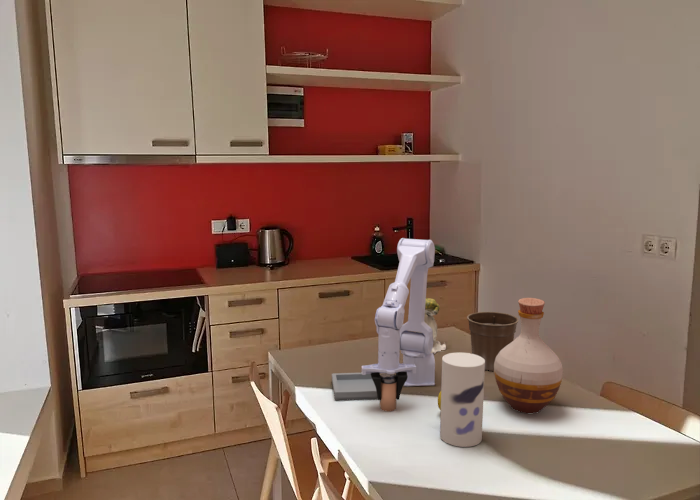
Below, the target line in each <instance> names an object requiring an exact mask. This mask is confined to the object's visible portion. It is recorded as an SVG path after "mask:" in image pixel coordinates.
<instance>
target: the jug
mask: <svg viewBox="0 0 700 500" xmlns="http://www.w3.org/2000/svg"><path fill="white" fill-rule="evenodd" d="M517 302H518V307H519V309H518V310H517V312H518V313H517V314H518V317H519V318H520V334H519V335H518V336H516V338H514V340H513V341H512V342H511V343H510V344H508V345H507V346H506V347H504V348H503V349H502V350H501V351H500V352H499V353H498V355H497V356H496V359H495V362H494V371H493V373H494V378H495V382H496V385H497V387H498V391H499V393H500V395H502V397H503V399H504V400H505V401H506V402H507V403H508V405H509V407H510V408H511V409H512V410H514V411H516V412H518V413H522V414H528V413H533V414H537V412H538V413H540V412H541V411H542V410H544V409H545V407H546V406H548V405H549V404H550V403H551V402H552V401H554V399H555V397H556V395H557V394H558V392H559V390H560V387H561V385H562V382H563V381H562V380H563V376H564V370H563V369H564V368H563V364H562V361H561V360H560V358H559V356H558V355H557V354H556V352H554V351H553V350H552V349H551V347H549V346H548V344H546V343H545V342H544V340H543V339H542V338H541V337H540V325H541V321H542V318H543V317H544V315H545V313H544V311H543V309H544V307H545V304H546V303H545V301H544V300H543V299H541V298H535V297H522V298H520V299H519V300H518V301H517Z"/></svg>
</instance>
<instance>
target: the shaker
mask: <svg viewBox="0 0 700 500" xmlns="http://www.w3.org/2000/svg"><path fill="white" fill-rule="evenodd" d="M380 377H381V400H379V409H380V410H381V411H383V412H394V411H396V410H397V399H396V391H397V376H396V373H394V374H387V373H381V374H380Z"/></svg>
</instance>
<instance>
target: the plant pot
mask: <svg viewBox="0 0 700 500" xmlns="http://www.w3.org/2000/svg"><path fill="white" fill-rule="evenodd" d="M466 319H467V320H468V328H469V332H470V342H471V343H470V344H471V354H475V355H478V356H480V357H482V358H483V359H484V360H485V371H488V370H489V371H490V372H491V371H492V372H494V362H495V359H496V356H497V355H498V353H499V352H500V351H501V350H502V349H503V348H504V347H506V346H507V345H508V344H510V343H511V342H512V341H514V340H515V333H516V330H517V325H518V323H519V318H518V317H517V316H515V315H513V314H509V313H505V312H499V311H498V312H497V311H478V312H472V313H469V314H467V316H466ZM489 371H488V372H489Z"/></svg>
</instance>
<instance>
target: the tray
mask: <svg viewBox="0 0 700 500" xmlns="http://www.w3.org/2000/svg"><path fill="white" fill-rule="evenodd" d="M331 385H332V386H331V387H332V392H333V393H332V394H333V398H334V402H340V401H342V402H343V401H368V400H369V401H371V400H373V401H374V400H375V401H376V400H378V398H377V391H376V387H375V384H374V382H373V380H372V377H371V374H366V375H362V372H339V373H331Z"/></svg>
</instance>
